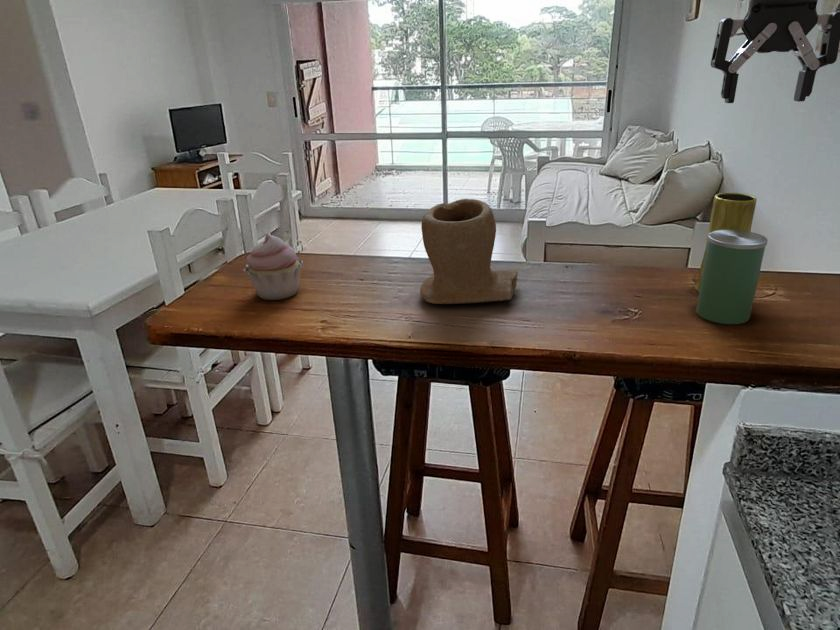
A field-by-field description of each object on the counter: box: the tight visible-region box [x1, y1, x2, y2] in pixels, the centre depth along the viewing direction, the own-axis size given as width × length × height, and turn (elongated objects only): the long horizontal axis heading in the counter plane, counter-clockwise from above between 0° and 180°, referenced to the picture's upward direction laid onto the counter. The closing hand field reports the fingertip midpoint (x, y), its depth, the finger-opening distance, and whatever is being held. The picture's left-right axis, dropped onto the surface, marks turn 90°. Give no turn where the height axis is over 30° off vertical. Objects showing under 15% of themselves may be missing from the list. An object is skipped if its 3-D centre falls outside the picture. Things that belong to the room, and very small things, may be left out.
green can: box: [695, 230, 768, 325], centre depth 76 cm, size 7×7×11 cm
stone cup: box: [419, 198, 519, 305], centre depth 84 cm, size 15×12×15 cm
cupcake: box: [242, 233, 304, 301], centre depth 90 cm, size 9×9×10 cm
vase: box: [694, 192, 758, 293], centre depth 83 cm, size 6×6×14 cm
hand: (763, 101), depth 77 cm, fingers open, 8 cm apart
